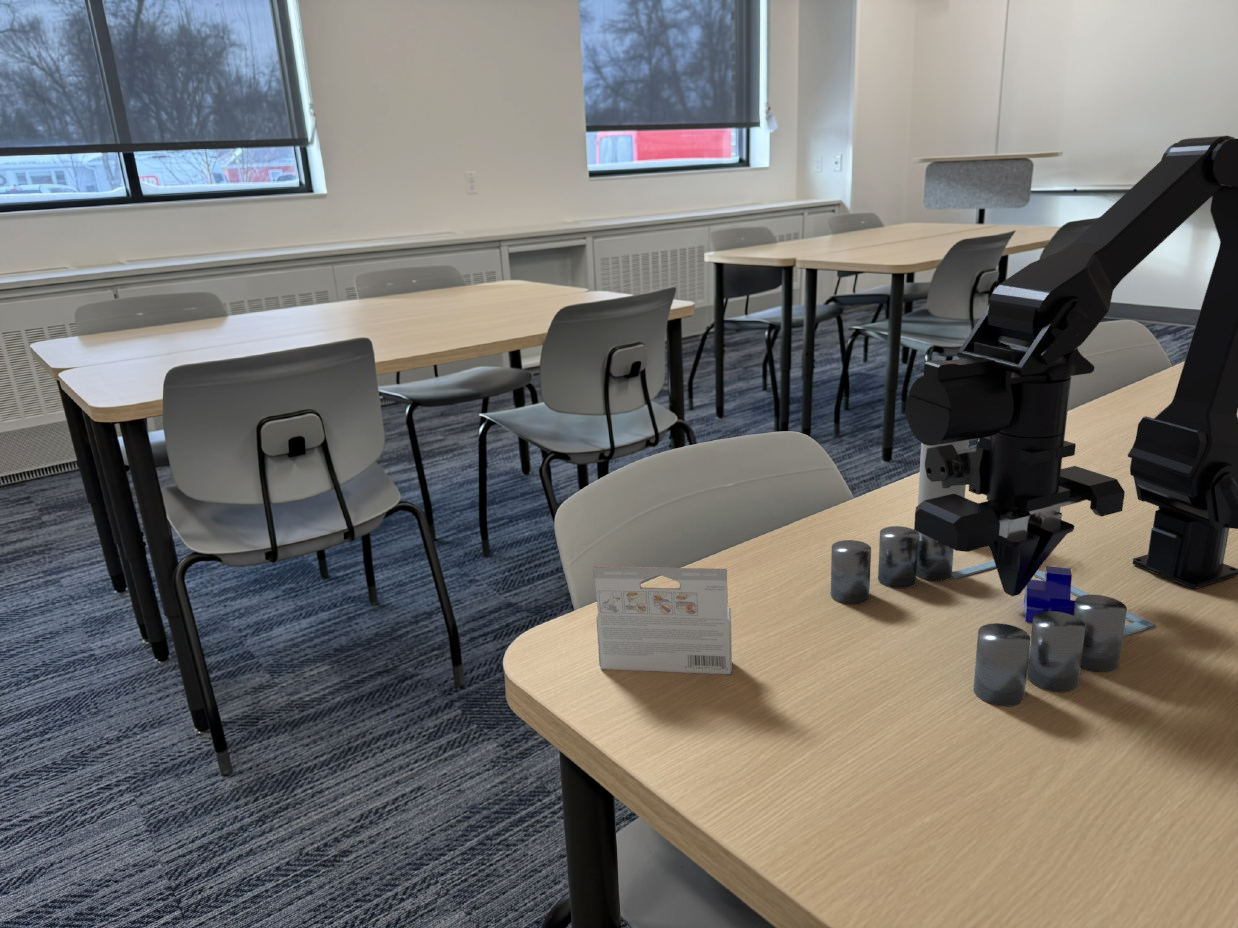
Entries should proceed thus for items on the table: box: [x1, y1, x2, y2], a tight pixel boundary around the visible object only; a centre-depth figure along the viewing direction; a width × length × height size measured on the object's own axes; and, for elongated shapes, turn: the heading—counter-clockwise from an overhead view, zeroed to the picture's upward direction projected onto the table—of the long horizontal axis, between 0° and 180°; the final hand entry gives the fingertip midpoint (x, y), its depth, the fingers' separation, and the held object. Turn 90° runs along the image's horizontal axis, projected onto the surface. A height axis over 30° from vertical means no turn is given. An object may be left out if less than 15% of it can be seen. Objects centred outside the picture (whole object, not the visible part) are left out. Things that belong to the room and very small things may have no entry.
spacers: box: [830, 525, 1128, 707], centre depth 75 cm, size 14×23×5 cm, turn 22°
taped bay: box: [951, 560, 1155, 637], centre depth 79 cm, size 8×16×1 cm, turn 22°
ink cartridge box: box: [592, 566, 733, 675], centre depth 71 cm, size 2×11×10 cm, turn 80°
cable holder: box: [1023, 565, 1075, 624], centre depth 74 cm, size 8×4×4 cm, turn 158°
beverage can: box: [917, 440, 970, 506], centre depth 94 cm, size 5×5×12 cm
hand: (1011, 593), depth 78 cm, fingers closed
